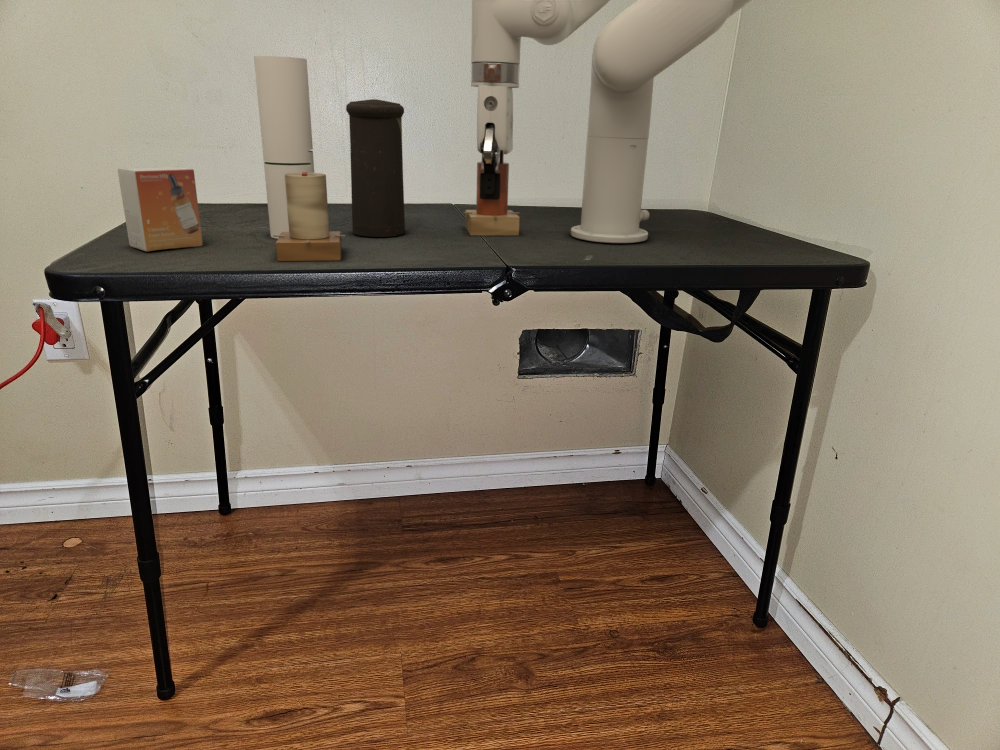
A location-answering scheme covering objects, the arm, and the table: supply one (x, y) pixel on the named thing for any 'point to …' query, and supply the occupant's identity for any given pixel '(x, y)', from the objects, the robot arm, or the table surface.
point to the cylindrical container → (283, 129)
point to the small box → (160, 207)
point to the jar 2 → (489, 204)
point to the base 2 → (492, 224)
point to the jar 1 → (307, 205)
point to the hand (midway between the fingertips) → (492, 195)
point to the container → (376, 168)
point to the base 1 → (309, 248)
